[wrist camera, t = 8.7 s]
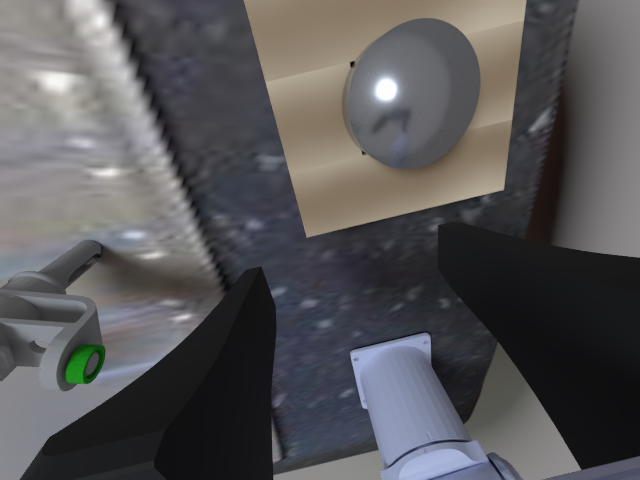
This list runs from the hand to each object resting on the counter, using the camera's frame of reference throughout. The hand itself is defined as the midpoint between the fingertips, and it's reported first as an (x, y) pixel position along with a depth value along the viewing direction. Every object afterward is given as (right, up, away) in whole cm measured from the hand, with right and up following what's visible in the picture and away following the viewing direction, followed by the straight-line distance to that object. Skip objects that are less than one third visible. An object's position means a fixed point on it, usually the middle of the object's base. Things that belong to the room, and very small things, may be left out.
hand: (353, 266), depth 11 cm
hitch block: (+2, +10, +6) cm, 11 cm away
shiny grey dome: (+2, +9, +5) cm, 11 cm away
